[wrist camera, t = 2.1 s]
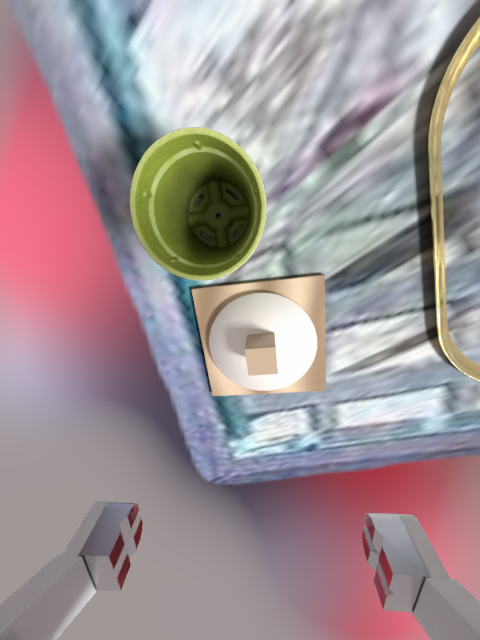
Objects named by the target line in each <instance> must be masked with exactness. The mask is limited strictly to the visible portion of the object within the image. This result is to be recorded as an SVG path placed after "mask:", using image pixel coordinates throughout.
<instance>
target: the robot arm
mask: <svg viewBox="0 0 480 640" xmlns="http://www.w3.org/2000/svg"><path fill="white" fill-rule="evenodd" d="M138 511H139V507H138V504H137V503H118V502H100V501H99V502H98V501H97V502H95V503H94V504H93V505H92V506H91V508H90V510H89V511H88V513H87V515H86V516H85V518H84V520H83V521H82V523H81V525H80V526H79V528H78V529H77V531H76V533H75V535H74V536H73V538H72V539H71V541H70V543H69V544H68V546H67V548H66V549H65V551H64V553H63V554H62V555H57V556H56V557H55V558H54V559H53V560H51V561H50V562H49V563H48V564H47V565H46V566H44V567H43V568H42V569H41V570H40V571H39V572H37V573H36V574H35V575H34V576H33V577H32V578H30V579H29V580H28V581H27V582H26V583H25V584H24V585H22V586H21V587H20V588H19V589H18V590H16V591H15V592H14V593H13V594H12V595H11V596H10V597H8V598H7V599H6V600H5V601H4V602H3V603H1V604H0V640H56V639H57V638H58V637H59V636H60V635H61V633H62V632H63V631H64V630H65V629H66V627H67V626H68V625H69V624H70V622H71V621H72V620H73V619H74V617H76V615H77V614H78V613H79V612H80V610H81V609H82V608H83V607H84V606H85V605H86V603H87V602H88V601H89V600H90V599H91V597H92V596H93V595H94V594H95V592H96V590H114V591H120V590H121V589H122V587H123V584H124V581H125V579H126V576H127V574H128V571H129V568H130V566H131V564H130V558H129V557H130V556H131V555H132V554H133V553H134V552H135V551H136V550H137V547H138V544H139V542H140V539H141V534H142V524H143V522H142V519H141V517H140V516H139V515H138ZM364 520H365V523H366V526H365V527H364V528H363V529H362V543H363V548H364V553H365V556H366V559H367V562H368V564H369V565H370V566H371V567H372V568H373V570H374V571H375V576H374V584H375V586H376V590H377V593H378V596H379V598H380V602H381V605H382V608H383V610H391V611H401V612H410V613H413V616H414V617H415V618H416V620H417V621H418V622H419V624H420V625H421V626H422V628H423V629H424V630H425V632H426V633H427V634H428V636H429V637H430V638H431V639H432V640H480V602H479V601H478V600H477V599H476V598H475V597H474V596H473V595H472V594H471V593H469V592H468V591H467V590H466V589H465V588H464V587H463V586H462V585H461V584H460V583H459V582H458V581H457V580H456V579H450V577H449V576H448V574H447V572H446V570H445V568H444V566H443V564H442V563H441V561H440V559H439V557H438V555H437V554H436V552H435V550H434V548H433V546H432V545H431V543H430V541H429V539H428V537H427V536H426V534H425V532H424V530H423V528H422V527H421V525H420V523H419V521H418V519H417V518H416V517H415V516H413V515H400V514H373V513H367V514H366V515H365V519H364Z"/></svg>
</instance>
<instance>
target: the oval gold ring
mask: <svg viewBox="0 0 480 640" xmlns="http://www.w3.org/2000/svg"><path fill="white" fill-rule="evenodd" d="M479 30H480V17H479V18H478V19H477V21H476V22H475V23H474V25H473V26H472V27H471V29H470V30H469V32H468V33H467V35H466V36H465V38H464V39H463V41H462V42H461V44H460V46H459V47H458V49H457V51H456V52H455V54H454V56H453V58H452V60H451V62H450V64H449V66H448V68H447V70H446V72H445V75H444V77H443V79H442V81H441V84H440V87H439V90H438V92H437V95H436V98H435V102H434V106H433V109H432V114H431V119H430V124H429V133H428V164H429V185H430V205H431V225H432V245H433V266H434V286H435V306H436V326H437V335H438V339H439V343H440V345H441V348H442V350H443V352H444V354H445V355H446V357H447V358H448V359H449V361H450V362H451V363H452V364H453V365H454V366H455V367H456V368H457V369H458V370H460V371H461V372H462V373H464V374H466V375H467V376H469V377H471V378H473V379H475V380H478V381H480V364H478V363H476V362H474V361H472V360H470V359H469V358H467V357H466V356H464V355H463V354H462V353H461V352H460V351H459V350H458V349H457V347H456V346H455V345H454V343H453V341H452V339H451V337H450V334H449V331H448V325H447V307H446V279H445V252H444V224H443V197H442V169H441V133H442V125H443V120H444V115H445V112H446V108H447V105H448V102H449V99H450V96H451V94H452V91H453V89H454V87H455V84H456V82H457V80H458V78H459V76H460V74H461V73H462V71H463V69H464V67H465V66H466V64H467V62H468V61H469V59H470V58H471V56H472V55H473V53H474V52H475V51H476V49H477V48H478V46H479V45H480V31H479ZM476 34H477V35H476ZM465 50H466V51H465ZM460 58H461V59H460ZM453 71H454V72H453ZM448 82H449V83H448ZM443 95H444V96H443ZM441 101H442V102H441ZM439 108H440V109H439ZM435 128H436V129H435ZM434 137H435V139H434ZM434 155H435V156H434ZM435 179H436V180H435ZM436 202H437V203H436ZM437 226H438V227H437ZM438 250H439V251H438ZM439 274H440V275H439ZM441 321H442V322H441ZM448 348H449V349H448Z"/></svg>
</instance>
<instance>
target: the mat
mask: <svg viewBox="0 0 480 640" xmlns="http://www.w3.org/2000/svg"><path fill="white" fill-rule="evenodd" d="M254 292H272V293H277V294H280V295H283V296H286V297H288V298H290V299H292V300H293V301H295V302H296V303H297V304H299V305H300V306H301V307H302V308H303V309H304V310H305V311H306V313H307V314H308V316H309V317H310V319H311V321H312V323H313V325H314V328H315V331H316V335H317V351H316V355H315V358H314V361H313V363H312V365H311V366H310V368H309V369H308V371H307V372H306V373H305V374H304V375H303V376H302V377H301V378H300V379H298V380H297V381H295V382H294V383H292V384H290V385H288V386H286V387H283V388H280V389H276V390H269V391H259V390H252V389H248V388H245V387H242V386H240V385H238V384H235V383H234V382H232V381H231V380H229V379H228V378H227V377H225V376H224V375H223V374H222V373H221V371H220V370H219V369H218V368H217V366H216V364H215V363H214V361H213V358H212V356H211V352H210V347H209V336H210V331H211V327H212V325H213V323H214V321H215V319H216V317H217V315H218V314H219V312H220V311H221V310H222V309H223V308H224V307H225V306H226V305H227V304H228V303H229V302H231V301H232V300H234V299H236V298H238V297H240V296H242V295H245V294H248V293H254ZM192 295H193V300H194V305H195V310H196V315H197V320H198V325H199V330H200V335H201V340H202V345H203V350H204V355H205V360H206V365H207V370H208V375H209V380H210V385H211V390H212V395H213V396H226V395H246V394H266V393H286V392H307V391H326V365H325V280H324V275H323V274H322V275H312V276H303V277H294V278H284V279H275V280H266V281H256V282H247V283H238V284H228V285H219V286H210V287H201V288H193V289H192Z"/></svg>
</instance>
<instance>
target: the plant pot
mask: <svg viewBox="0 0 480 640" xmlns="http://www.w3.org/2000/svg"><path fill="white" fill-rule="evenodd" d="M226 190H230V191H231V192H232V193H235V194H236V195H237V197H238V200H235V198H233V197H232V196H231V195H230V194H229V193H227V192H226ZM202 194H204V198H203V199H202V200H201V202H200V203H199V206H198V207H196V206H195V203H196V201H197V199H198V198H199V196H200V195H202ZM130 211H131V217H132V222H133V227H134V229H135V232H136V234H137V237H138V239H139V241H140V243H141V244H142V246H143V247H144V249H145V250H146V252H147V253H148V254H149V255H150V257H151V258H152V259H153V260H154V261H155V262H156V263H157V264H159V265H160V266H161V267H163V268H164V269H166V270H167V271H169V272H170V273H172V274H174V275H177V276H179V277H182V278H186V279H190V280H200V281H202V280H212V279H217V278H221V277H224V276H226V275H228V274H230V273H232V272H234V271H235V270H237V269H238V268H239V267H240V266H242V265H243V264H244V263H245V262H246V261H247V260H248V259H249V257H250V256H251V255H252V253H253V252H254V250H255V249H256V247H257V245H258V243H259V241H260V239H261V236H262V233H263V230H264V225H265V220H266V196H265V190H264V186H263V183H262V179H261V177H260V174H259V172H258V170H257V168H256V166H255V164H254V163H253V161H252V160H251V158H250V157H249V155H248V154H247V153H246V152H245V151H244V150H243V149H242V148H241V147H240V146H239V145H238V144H237V143H236V142H234V141H233V140H232V139H230V138H229V137H227V136H225V135H223V134H221V133H219V132H216V131H213V130H210V129H206V128H183V129H178V130H175V131H172V132H170V133H168V134H166V135H164V136H162V137H161V138H159V139H158V140H157V141H156V142H154V143H153V144H152V145H151V146H150V147H149V148H148V150H147V151H146V152H145V153H144V155H143V156H142V158H141V160H140V162H139V163H138V166H137V168H136V170H135V173H134V176H133V179H132V183H131V189H130ZM217 213H219V214H220V215H221V218H220V219H218V218H216V214H217ZM240 224H241V226H242V228H241V230H240V232H239V234H238V235H237V236H235V237H234V236H233V234H234V233H235V231H236V230H237V229H238V227H239V226H240ZM201 231H203V232H204V233H205V234H206V235H207V236H208V237H210V238H212V240H210V241H209V240H207V239H206V238H204V237H203V236H202V235H201Z"/></svg>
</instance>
